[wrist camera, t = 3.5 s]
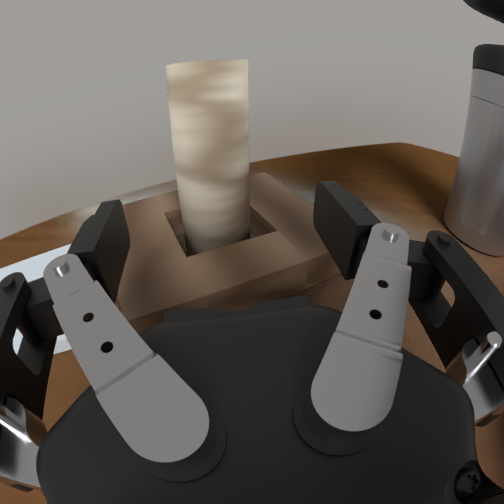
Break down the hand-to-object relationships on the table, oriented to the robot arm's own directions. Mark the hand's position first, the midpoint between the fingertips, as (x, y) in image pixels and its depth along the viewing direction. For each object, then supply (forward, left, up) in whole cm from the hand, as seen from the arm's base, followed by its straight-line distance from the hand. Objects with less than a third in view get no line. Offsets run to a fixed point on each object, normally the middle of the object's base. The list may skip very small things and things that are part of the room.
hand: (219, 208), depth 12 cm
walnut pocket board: (-3, -8, -8) cm, 12 cm away
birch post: (-3, -8, -8) cm, 12 cm away
